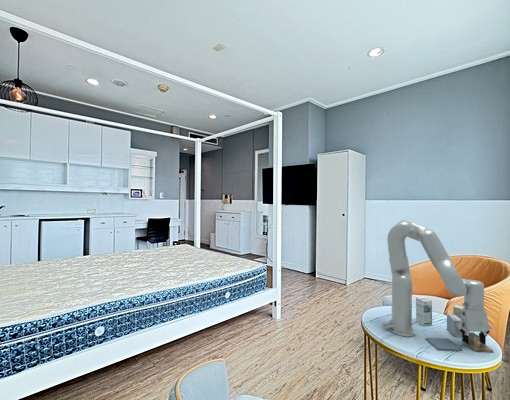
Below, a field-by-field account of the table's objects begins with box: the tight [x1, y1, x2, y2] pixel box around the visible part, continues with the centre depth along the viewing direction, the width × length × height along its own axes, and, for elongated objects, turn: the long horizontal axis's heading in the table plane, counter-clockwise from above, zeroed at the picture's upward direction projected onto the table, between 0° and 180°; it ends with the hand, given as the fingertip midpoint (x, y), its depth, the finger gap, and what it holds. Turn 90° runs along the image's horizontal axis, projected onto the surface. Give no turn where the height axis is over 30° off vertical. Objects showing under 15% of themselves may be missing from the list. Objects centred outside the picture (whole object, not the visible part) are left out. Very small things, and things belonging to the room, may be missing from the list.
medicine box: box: [446, 314, 463, 338], centre depth 140 cm, size 8×4×9 cm, turn 168°
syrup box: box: [415, 296, 433, 327], centre depth 152 cm, size 6×6×14 cm
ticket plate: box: [425, 337, 463, 353], centre depth 128 cm, size 11×10×1 cm
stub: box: [461, 331, 494, 353], centre depth 127 cm, size 8×9×6 cm
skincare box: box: [452, 304, 466, 331], centre depth 146 cm, size 6×4×12 cm
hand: (473, 342), depth 127 cm, fingers open, 7 cm apart
